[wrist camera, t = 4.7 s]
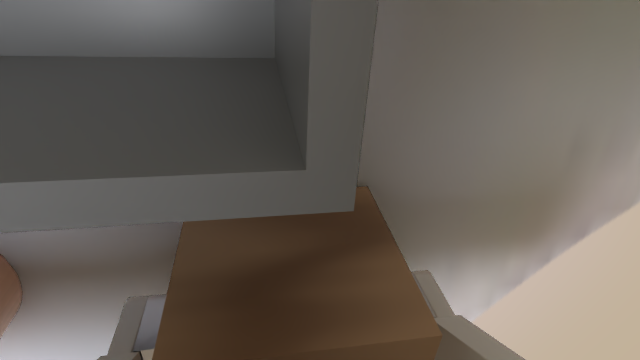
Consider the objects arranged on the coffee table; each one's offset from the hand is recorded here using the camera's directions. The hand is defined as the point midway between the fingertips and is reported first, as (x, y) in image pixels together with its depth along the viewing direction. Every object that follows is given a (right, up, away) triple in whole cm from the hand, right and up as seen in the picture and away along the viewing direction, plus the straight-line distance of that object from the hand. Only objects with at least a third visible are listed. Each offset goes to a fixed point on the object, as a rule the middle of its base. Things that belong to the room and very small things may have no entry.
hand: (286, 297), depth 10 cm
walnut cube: (0, +1, +1) cm, 2 cm away
